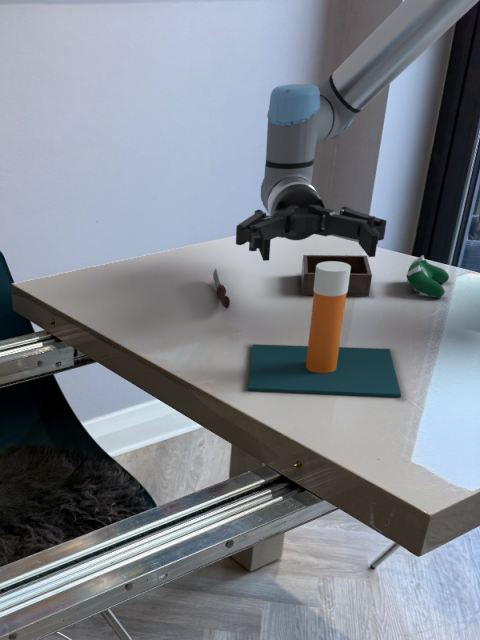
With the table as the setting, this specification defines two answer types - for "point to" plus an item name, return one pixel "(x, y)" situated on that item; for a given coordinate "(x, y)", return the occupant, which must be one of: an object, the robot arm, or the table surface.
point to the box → (357, 279)
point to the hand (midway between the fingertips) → (320, 248)
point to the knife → (220, 291)
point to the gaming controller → (427, 278)
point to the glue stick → (327, 315)
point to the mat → (348, 379)
